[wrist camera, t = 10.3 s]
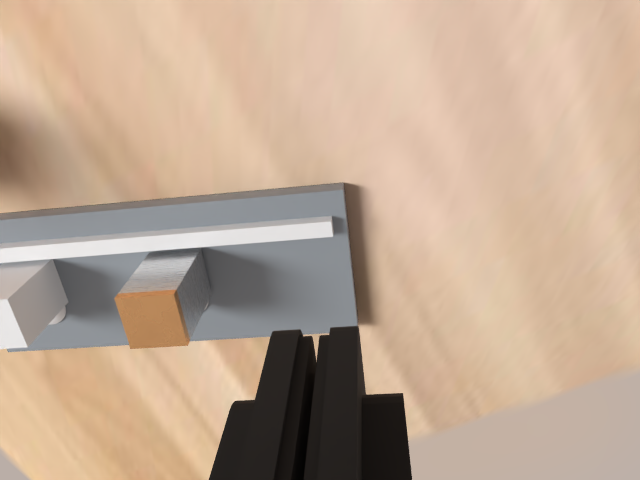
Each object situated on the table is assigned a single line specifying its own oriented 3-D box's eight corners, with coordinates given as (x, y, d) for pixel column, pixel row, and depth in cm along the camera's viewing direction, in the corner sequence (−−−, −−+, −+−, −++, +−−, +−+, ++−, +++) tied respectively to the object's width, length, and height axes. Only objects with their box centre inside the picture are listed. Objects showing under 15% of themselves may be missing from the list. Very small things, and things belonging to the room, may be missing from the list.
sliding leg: (149, 252, 41) (114, 298, 35) (201, 248, 41) (173, 294, 35) (164, 306, 43) (133, 358, 37) (213, 302, 43) (190, 355, 37)
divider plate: (-36, 216, 43) (-110, 261, 36) (343, 182, 40) (340, 224, 33) (18, 341, 48) (-38, 401, 41) (358, 320, 45) (357, 381, 38)
